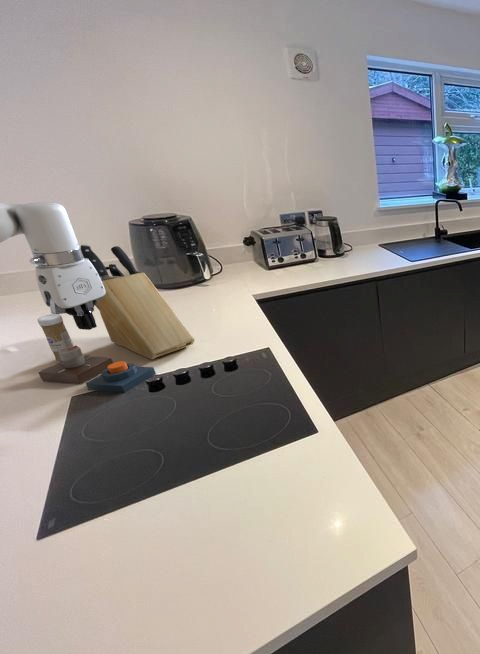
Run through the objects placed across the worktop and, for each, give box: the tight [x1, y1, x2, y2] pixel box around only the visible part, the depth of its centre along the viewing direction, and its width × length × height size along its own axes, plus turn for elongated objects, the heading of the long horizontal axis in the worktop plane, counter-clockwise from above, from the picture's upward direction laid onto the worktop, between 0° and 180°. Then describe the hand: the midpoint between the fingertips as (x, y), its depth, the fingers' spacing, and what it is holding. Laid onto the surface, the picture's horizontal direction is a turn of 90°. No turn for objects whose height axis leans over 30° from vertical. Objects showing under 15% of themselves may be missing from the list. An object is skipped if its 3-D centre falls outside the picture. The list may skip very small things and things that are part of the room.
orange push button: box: [107, 360, 128, 374], centre depth 105 cm, size 4×4×2 cm
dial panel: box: [37, 355, 114, 385], centre depth 109 cm, size 11×9×3 cm
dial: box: [58, 345, 86, 368], centre depth 108 cm, size 4×4×5 cm
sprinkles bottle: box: [36, 313, 75, 362], centre depth 114 cm, size 5×5×13 cm
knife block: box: [80, 244, 195, 360], centre depth 121 cm, size 11×35×31 cm, turn 64°
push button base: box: [85, 362, 157, 394], centre depth 106 cm, size 10×9×4 cm
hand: (87, 327), depth 100 cm, fingers closed
